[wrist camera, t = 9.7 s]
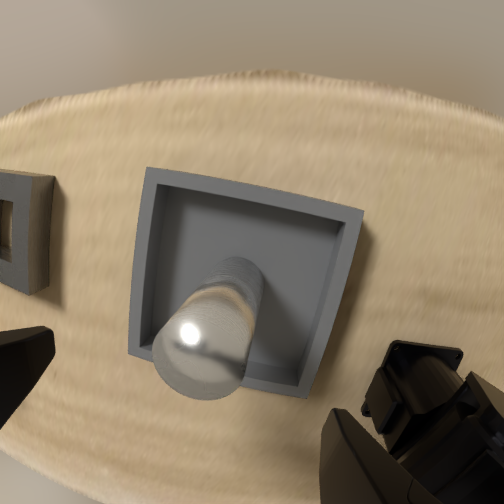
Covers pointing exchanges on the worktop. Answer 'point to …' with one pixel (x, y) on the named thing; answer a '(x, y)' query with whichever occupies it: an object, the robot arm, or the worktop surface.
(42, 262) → the pin holder
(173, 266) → the parts tray
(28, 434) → the worktop surface
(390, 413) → the robot arm
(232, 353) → the pin
